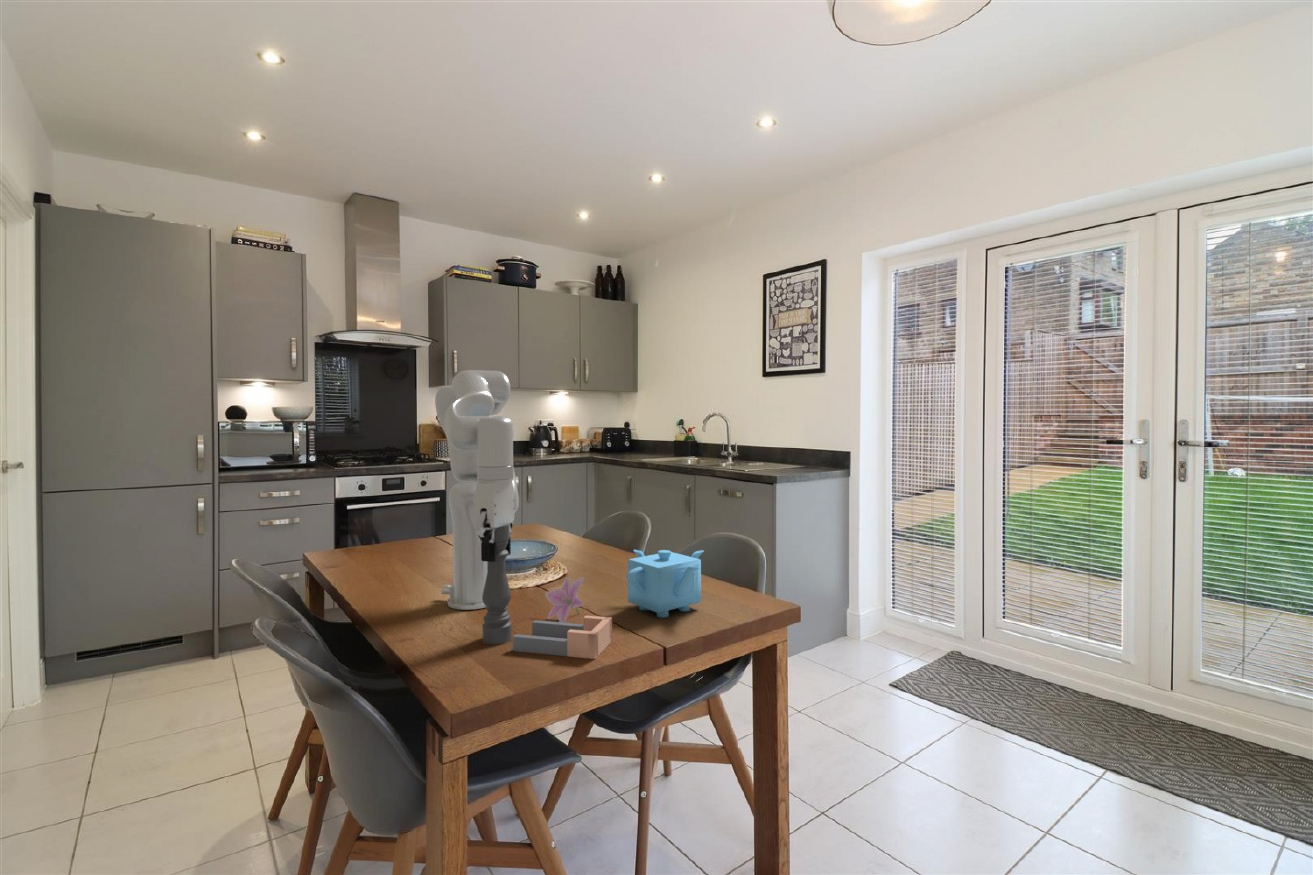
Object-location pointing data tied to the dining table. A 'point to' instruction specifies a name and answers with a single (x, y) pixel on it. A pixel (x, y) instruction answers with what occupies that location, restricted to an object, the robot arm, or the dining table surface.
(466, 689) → the dining table surface
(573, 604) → the lily
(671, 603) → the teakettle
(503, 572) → the candle holder
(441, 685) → the dining table surface
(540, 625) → the guide channel
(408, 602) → the dining table surface
